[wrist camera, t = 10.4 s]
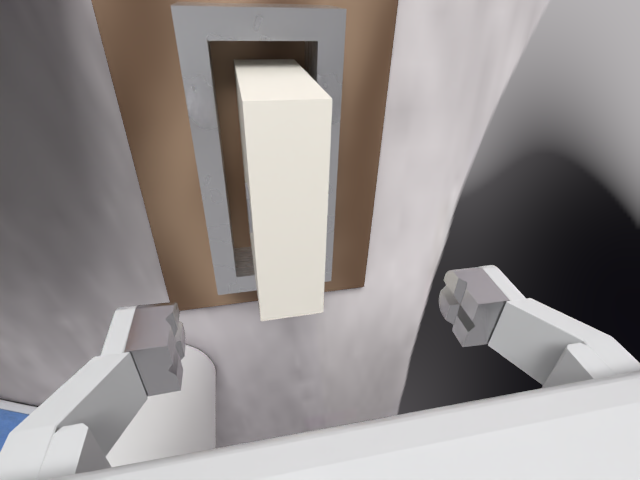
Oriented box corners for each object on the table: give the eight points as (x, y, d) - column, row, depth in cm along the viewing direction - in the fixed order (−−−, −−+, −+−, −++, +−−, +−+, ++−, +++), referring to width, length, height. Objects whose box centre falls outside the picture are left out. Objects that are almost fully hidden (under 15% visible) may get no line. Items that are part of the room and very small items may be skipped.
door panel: (295, 59, 19) (335, 98, 13) (297, 226, 25) (325, 312, 19) (231, 59, 19) (239, 101, 12) (247, 231, 24) (258, 321, 18)
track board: (401, -86, 18) (408, -88, 17) (360, 280, 30) (363, 286, 29) (68, -110, 15) (61, -113, 14) (173, 303, 27) (172, 311, 27)
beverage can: (82, 368, 29) (14, 565, 19) (173, 319, 28) (150, 498, 18) (155, 413, 33) (130, 589, 24) (234, 372, 33) (242, 537, 23)
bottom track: (329, 5, 18) (346, 9, 16) (320, 253, 27) (331, 281, 24) (177, 2, 17) (170, 5, 15) (217, 264, 25) (217, 295, 23)
